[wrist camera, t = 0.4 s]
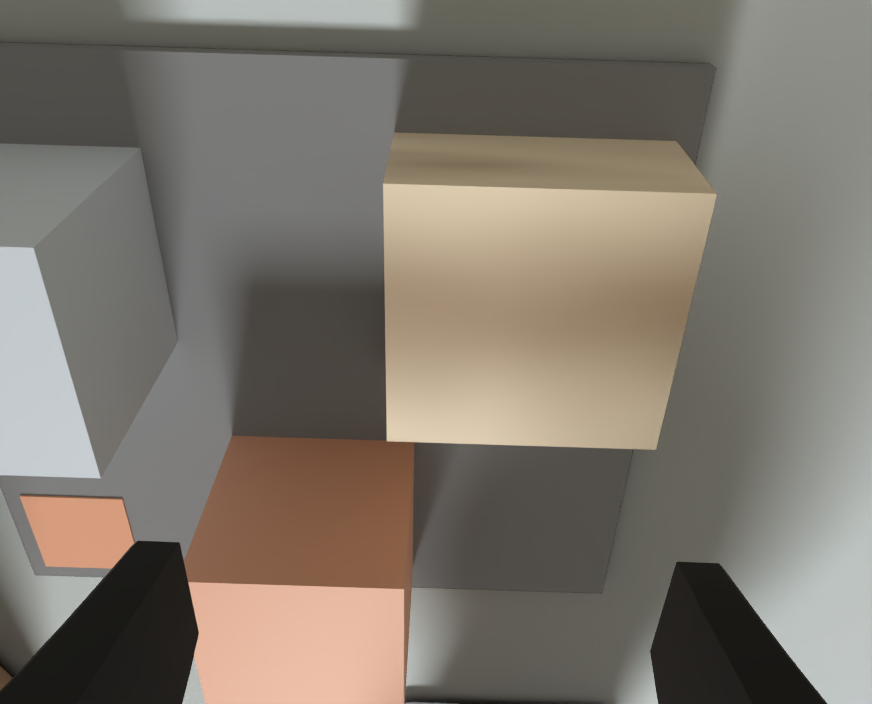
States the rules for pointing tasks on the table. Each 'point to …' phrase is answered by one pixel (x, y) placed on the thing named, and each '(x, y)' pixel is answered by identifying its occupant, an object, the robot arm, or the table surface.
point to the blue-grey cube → (76, 306)
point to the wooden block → (4, 677)
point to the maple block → (537, 287)
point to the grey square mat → (315, 284)
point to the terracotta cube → (305, 572)
